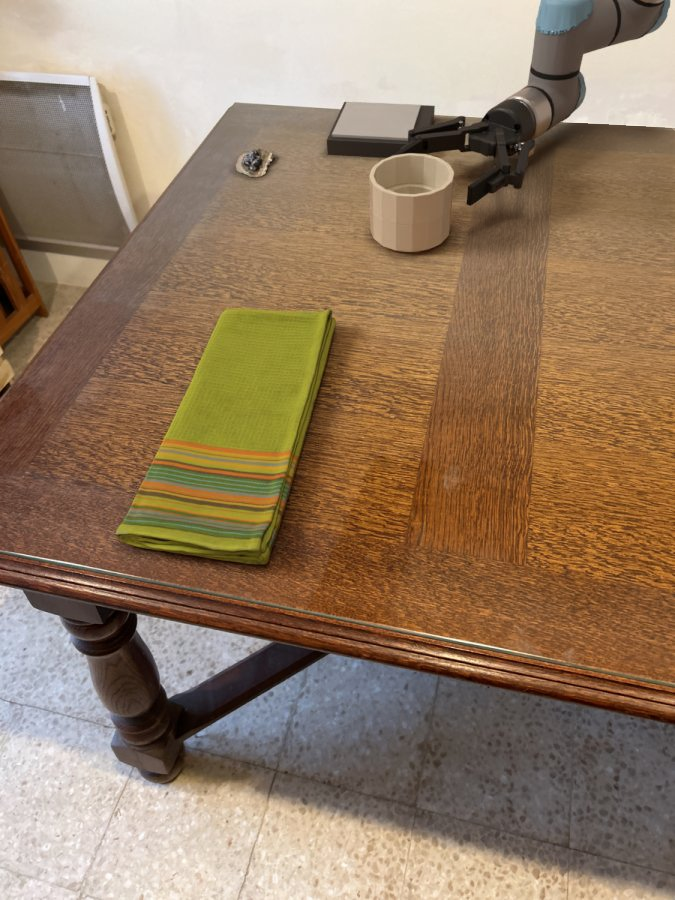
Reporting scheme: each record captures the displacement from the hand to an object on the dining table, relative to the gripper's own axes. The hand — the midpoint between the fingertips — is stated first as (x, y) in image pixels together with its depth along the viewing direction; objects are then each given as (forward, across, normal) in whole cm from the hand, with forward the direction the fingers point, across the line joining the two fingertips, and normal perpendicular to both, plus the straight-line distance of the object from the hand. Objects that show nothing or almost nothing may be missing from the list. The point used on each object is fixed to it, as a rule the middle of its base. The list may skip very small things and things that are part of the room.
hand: (429, 180), depth 99 cm
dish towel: (+46, -9, -6) cm, 47 cm away
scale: (-15, +22, -6) cm, 27 cm away
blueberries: (+5, +32, -6) cm, 33 cm away
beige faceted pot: (+4, 0, -6) cm, 7 cm away
